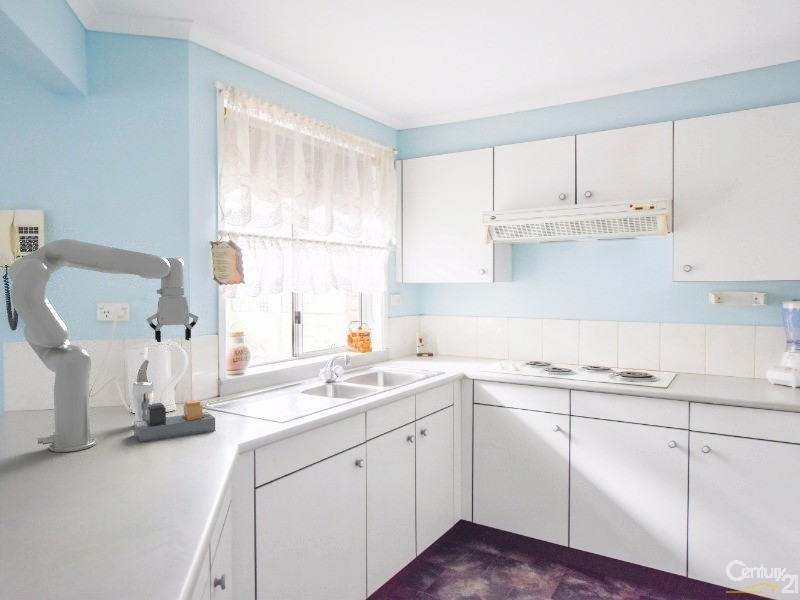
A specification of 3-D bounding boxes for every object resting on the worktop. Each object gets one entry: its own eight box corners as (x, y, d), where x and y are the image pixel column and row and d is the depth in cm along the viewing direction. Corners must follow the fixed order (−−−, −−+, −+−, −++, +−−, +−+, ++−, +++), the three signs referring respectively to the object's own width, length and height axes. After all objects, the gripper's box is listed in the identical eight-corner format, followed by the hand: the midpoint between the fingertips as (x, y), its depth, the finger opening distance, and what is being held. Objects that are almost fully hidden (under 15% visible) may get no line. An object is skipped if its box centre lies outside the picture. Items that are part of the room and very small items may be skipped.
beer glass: (158, 422, 203) (157, 381, 203) (147, 427, 196) (146, 385, 196) (139, 422, 204) (139, 381, 203) (128, 427, 197) (128, 385, 196)
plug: (187, 433, 190) (187, 404, 190) (184, 429, 194) (183, 401, 194) (202, 430, 193) (202, 402, 192) (198, 427, 197) (198, 399, 196)
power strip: (139, 442, 179) (138, 409, 179) (133, 435, 187) (133, 404, 187) (215, 430, 193) (214, 400, 192) (207, 424, 201) (206, 395, 201)
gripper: (148, 293, 189) (149, 343, 190) (200, 292, 199) (201, 340, 200) (144, 293, 196) (145, 341, 196) (195, 292, 205) (195, 338, 206)
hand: (173, 341), depth 198 cm, fingers open, 9 cm apart
